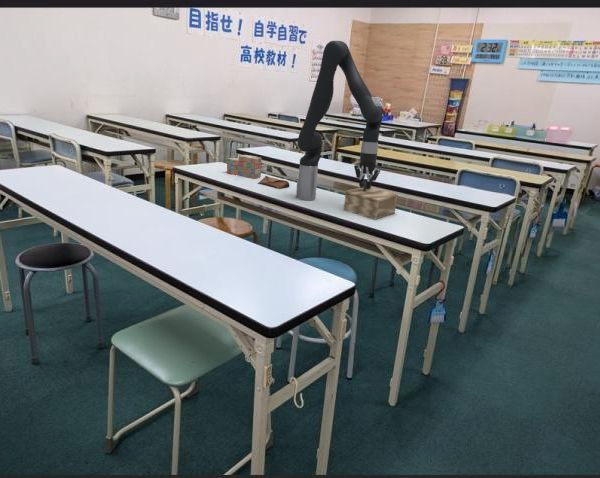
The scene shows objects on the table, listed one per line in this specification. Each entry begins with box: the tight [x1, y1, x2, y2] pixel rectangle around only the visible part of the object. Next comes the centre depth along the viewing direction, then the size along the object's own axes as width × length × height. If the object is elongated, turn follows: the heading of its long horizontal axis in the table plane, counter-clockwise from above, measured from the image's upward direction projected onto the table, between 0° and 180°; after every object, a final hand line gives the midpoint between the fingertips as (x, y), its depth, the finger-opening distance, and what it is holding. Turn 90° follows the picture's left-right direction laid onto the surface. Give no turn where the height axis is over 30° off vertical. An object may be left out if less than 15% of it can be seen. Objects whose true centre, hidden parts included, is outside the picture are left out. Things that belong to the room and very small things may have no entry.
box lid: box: [344, 178, 399, 202], centre depth 203 cm, size 19×16×7 cm
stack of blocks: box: [226, 154, 262, 180], centre depth 263 cm, size 21×6×12 cm, turn 59°
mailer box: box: [343, 193, 398, 221], centre depth 206 cm, size 18×16×8 cm
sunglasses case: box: [257, 175, 290, 190], centre depth 246 cm, size 18×7×7 cm, turn 53°
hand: (364, 188), depth 206 cm, fingers closed on box lid, 3 cm apart
